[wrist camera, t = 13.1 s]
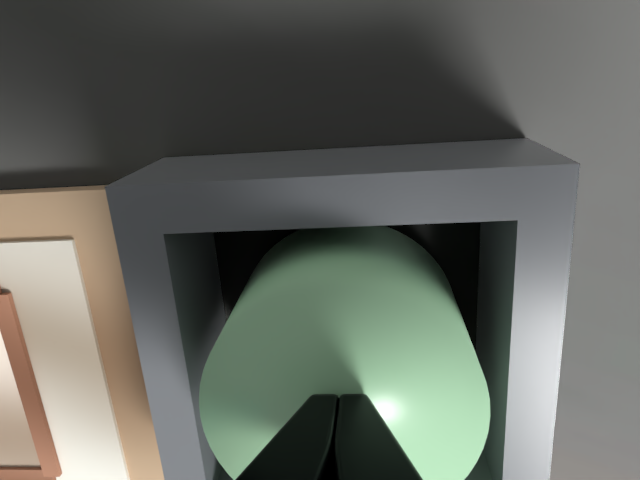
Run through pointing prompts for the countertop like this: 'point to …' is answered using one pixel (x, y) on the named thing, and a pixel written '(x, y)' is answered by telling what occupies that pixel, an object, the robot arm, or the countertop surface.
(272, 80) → the countertop surface
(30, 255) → the colouring board
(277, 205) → the button pad
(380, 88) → the countertop surface
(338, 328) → the button
